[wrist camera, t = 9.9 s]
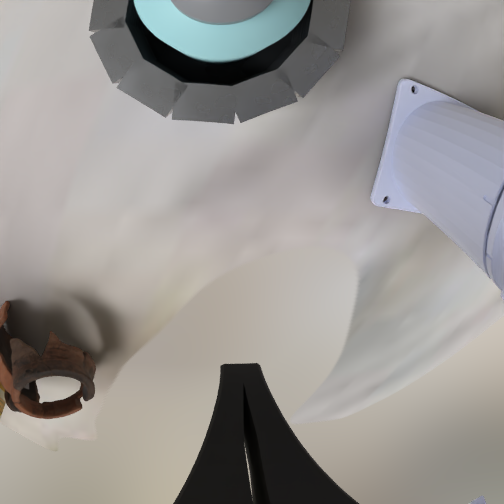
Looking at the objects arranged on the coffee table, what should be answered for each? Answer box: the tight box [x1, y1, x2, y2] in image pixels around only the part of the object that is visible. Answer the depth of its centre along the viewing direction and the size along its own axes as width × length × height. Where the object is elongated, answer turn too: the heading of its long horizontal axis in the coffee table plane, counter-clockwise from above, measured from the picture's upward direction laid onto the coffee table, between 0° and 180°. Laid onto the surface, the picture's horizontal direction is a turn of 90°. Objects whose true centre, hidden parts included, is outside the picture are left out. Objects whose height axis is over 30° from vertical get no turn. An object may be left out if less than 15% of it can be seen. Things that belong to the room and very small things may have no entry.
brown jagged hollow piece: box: [0, 301, 96, 419], centre depth 21 cm, size 12×10×8 cm
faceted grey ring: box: [89, 0, 351, 124], centre depth 10 cm, size 10×10×4 cm
